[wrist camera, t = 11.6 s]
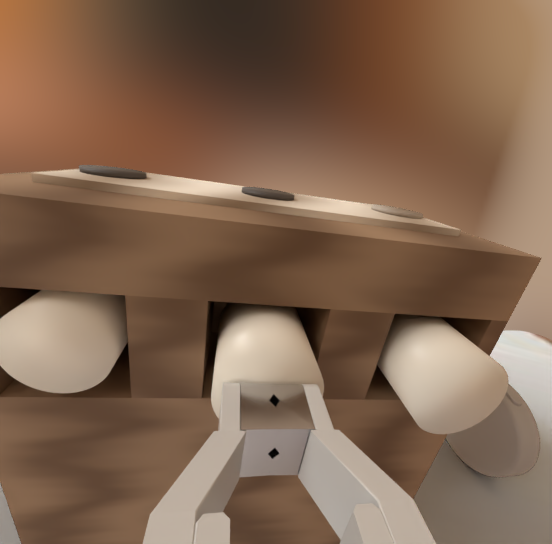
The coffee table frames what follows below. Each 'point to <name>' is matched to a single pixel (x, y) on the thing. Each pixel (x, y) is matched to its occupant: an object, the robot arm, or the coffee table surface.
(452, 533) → the coffee table surface
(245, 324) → the button middle
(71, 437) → the console
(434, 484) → the coffee table surface
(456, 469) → the coffee table surface
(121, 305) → the button
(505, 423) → the game controller
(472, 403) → the button
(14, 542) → the coffee table surface
